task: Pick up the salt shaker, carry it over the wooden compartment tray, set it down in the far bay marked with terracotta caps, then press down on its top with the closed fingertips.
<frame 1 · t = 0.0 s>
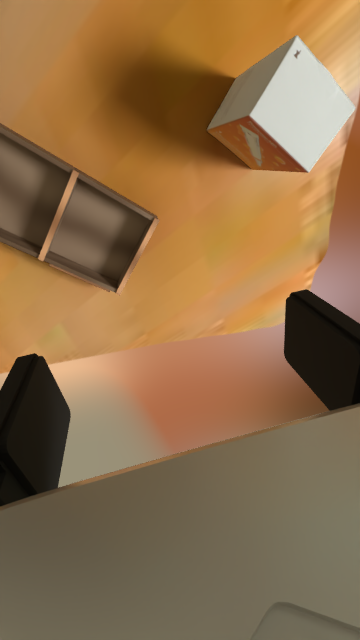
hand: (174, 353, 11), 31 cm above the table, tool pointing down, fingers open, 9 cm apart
wooden compartment tray: (21, 191, 34), on the table
small box: (243, 127, 35), on the table
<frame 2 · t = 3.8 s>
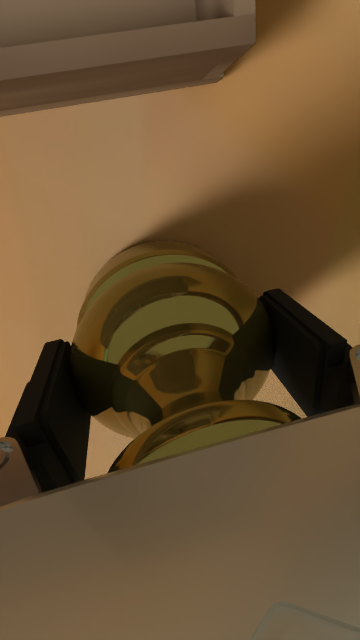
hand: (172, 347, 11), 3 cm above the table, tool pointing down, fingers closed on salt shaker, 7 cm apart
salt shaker: (161, 312, 14), on the table, touching gripper
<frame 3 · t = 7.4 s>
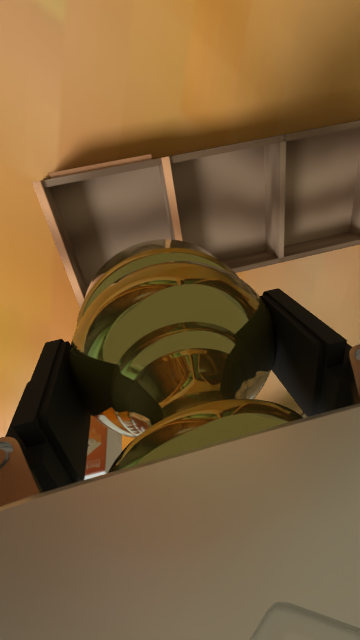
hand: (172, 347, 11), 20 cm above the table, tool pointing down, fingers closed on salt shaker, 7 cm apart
wooden compartment tray: (217, 210, 29), on the table
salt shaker: (162, 311, 14), point 17 cm above the table, touching gripper
small box: (85, 399, 37), on the table
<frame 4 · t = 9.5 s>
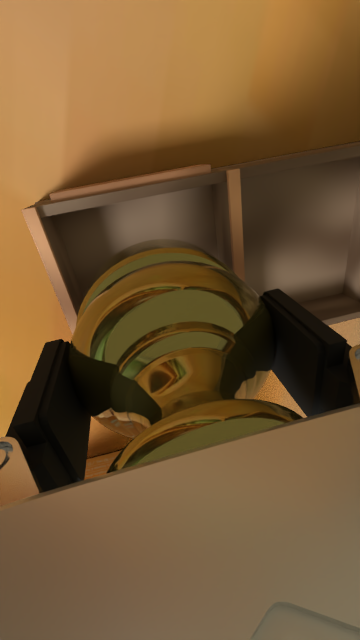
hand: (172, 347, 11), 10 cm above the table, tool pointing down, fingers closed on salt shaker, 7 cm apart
wooden compartment tray: (284, 240, 21), on the table
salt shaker: (161, 311, 14), point 7 cm above the table, touching gripper
small box: (94, 474, 29), on the table
when the fingers open (5 cm above the table, at t = 11.1 s): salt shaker drops 1 cm, resting on wooden compartment tray.
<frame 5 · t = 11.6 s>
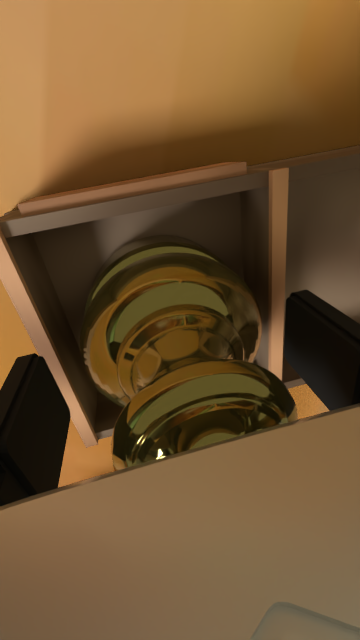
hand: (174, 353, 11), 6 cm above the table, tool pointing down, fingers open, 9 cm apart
wooden compartment tray: (323, 258, 17), on the table
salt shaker: (161, 301, 15), point 1 cm above the table, touching wooden compartment tray
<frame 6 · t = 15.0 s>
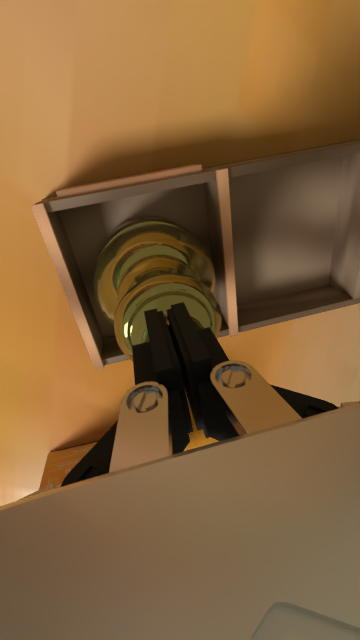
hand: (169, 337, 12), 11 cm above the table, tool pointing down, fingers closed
wooden compartment tray: (272, 235, 22), on the table
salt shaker: (150, 266, 21), point 1 cm above the table, touching gripper, wooden compartment tray
small box: (95, 459, 31), on the table
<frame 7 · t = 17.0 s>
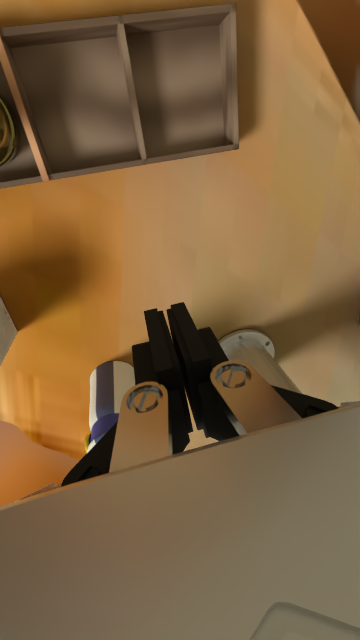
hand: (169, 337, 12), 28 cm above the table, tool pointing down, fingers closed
wooden compartment tray: (82, 110, 29), on the table
water bottle: (114, 379, 48), on the table
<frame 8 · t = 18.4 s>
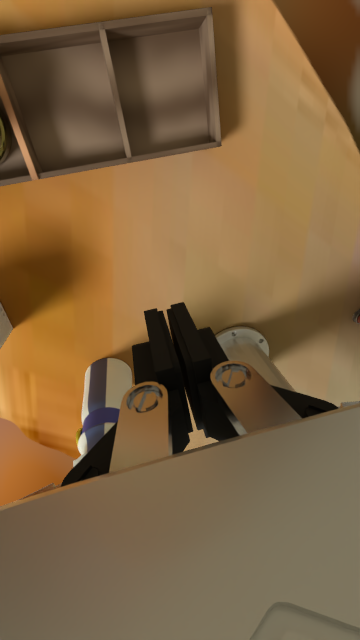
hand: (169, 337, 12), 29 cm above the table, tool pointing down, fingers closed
wooden compartment tray: (70, 113, 31), on the table
water bottle: (108, 377, 48), on the table
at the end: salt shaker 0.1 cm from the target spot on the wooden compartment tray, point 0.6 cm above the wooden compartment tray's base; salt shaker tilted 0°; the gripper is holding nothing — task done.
